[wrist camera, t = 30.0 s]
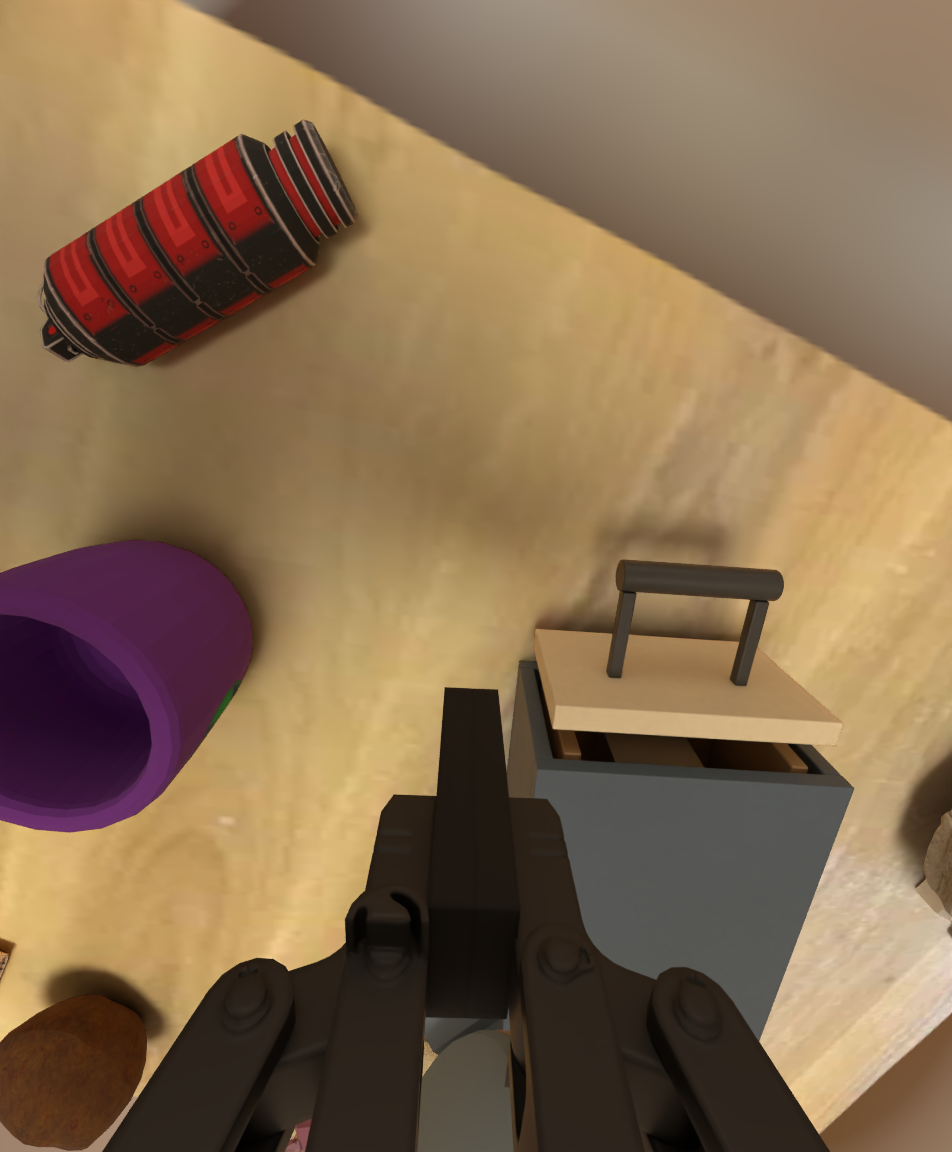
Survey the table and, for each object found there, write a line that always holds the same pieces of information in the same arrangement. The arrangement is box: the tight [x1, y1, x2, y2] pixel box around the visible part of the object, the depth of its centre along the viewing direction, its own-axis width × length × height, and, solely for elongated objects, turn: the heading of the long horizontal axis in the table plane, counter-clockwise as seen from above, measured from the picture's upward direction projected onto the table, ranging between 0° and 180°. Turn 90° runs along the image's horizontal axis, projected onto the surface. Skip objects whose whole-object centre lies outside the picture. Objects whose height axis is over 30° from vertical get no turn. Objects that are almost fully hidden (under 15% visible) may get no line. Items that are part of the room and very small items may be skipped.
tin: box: [589, 732, 704, 768], centre depth 28 cm, size 6×5×5 cm
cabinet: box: [502, 661, 854, 1041], centre depth 29 cm, size 17×14×10 cm
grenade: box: [38, 119, 358, 367], centre depth 22 cm, size 6×5×15 cm
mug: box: [0, 540, 253, 832], centre depth 26 cm, size 17×11×10 cm, turn 137°
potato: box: [0, 995, 147, 1150], centre depth 37 cm, size 7×10×8 cm
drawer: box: [533, 560, 843, 774], centre depth 27 cm, size 21×12×8 cm, turn 176°
